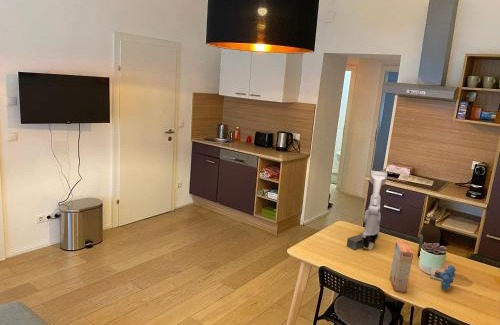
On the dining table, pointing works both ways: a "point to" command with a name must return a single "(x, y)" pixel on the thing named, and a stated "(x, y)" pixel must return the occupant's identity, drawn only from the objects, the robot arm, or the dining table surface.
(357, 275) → the dining table surface
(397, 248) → the cracker box
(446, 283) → the grapes
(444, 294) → the dining table surface
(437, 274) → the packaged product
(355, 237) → the housing
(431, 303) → the dining table surface
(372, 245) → the plug
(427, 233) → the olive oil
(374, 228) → the robot arm
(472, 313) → the dining table surface
